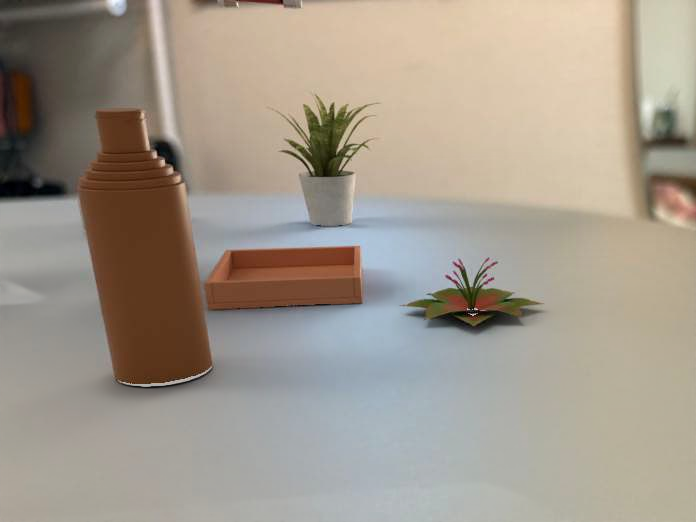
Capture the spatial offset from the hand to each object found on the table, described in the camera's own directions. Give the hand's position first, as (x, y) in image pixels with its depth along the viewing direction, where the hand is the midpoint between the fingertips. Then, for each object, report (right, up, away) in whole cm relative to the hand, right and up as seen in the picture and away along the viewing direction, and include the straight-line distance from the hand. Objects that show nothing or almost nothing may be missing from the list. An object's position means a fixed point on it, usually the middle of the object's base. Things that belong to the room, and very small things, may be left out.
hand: (261, 8), depth 72 cm
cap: (0, +2, 0) cm, 2 cm away
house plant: (-2, -10, +39) cm, 40 cm away
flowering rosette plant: (+18, -26, +2) cm, 31 cm away
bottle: (-3, -31, -12) cm, 33 cm away
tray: (0, -22, +9) cm, 24 cm away
